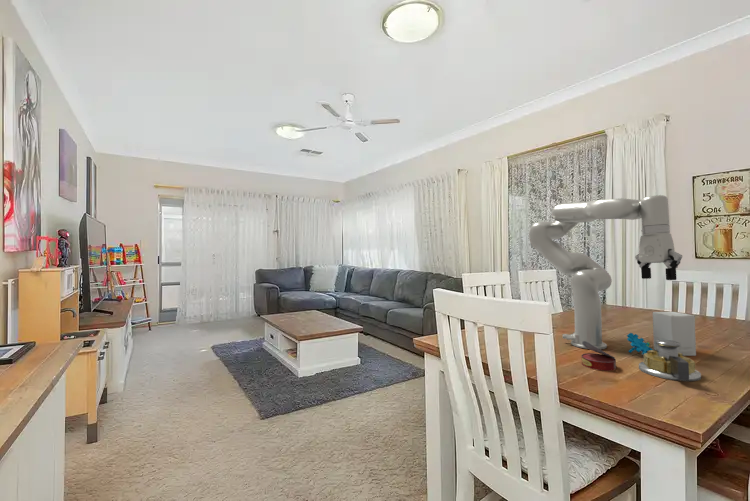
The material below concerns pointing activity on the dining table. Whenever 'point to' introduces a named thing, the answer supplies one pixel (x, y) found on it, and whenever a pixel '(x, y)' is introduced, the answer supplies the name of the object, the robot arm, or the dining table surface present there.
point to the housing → (667, 350)
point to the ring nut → (670, 364)
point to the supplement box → (675, 330)
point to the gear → (638, 343)
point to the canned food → (598, 359)
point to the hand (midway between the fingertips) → (658, 279)
